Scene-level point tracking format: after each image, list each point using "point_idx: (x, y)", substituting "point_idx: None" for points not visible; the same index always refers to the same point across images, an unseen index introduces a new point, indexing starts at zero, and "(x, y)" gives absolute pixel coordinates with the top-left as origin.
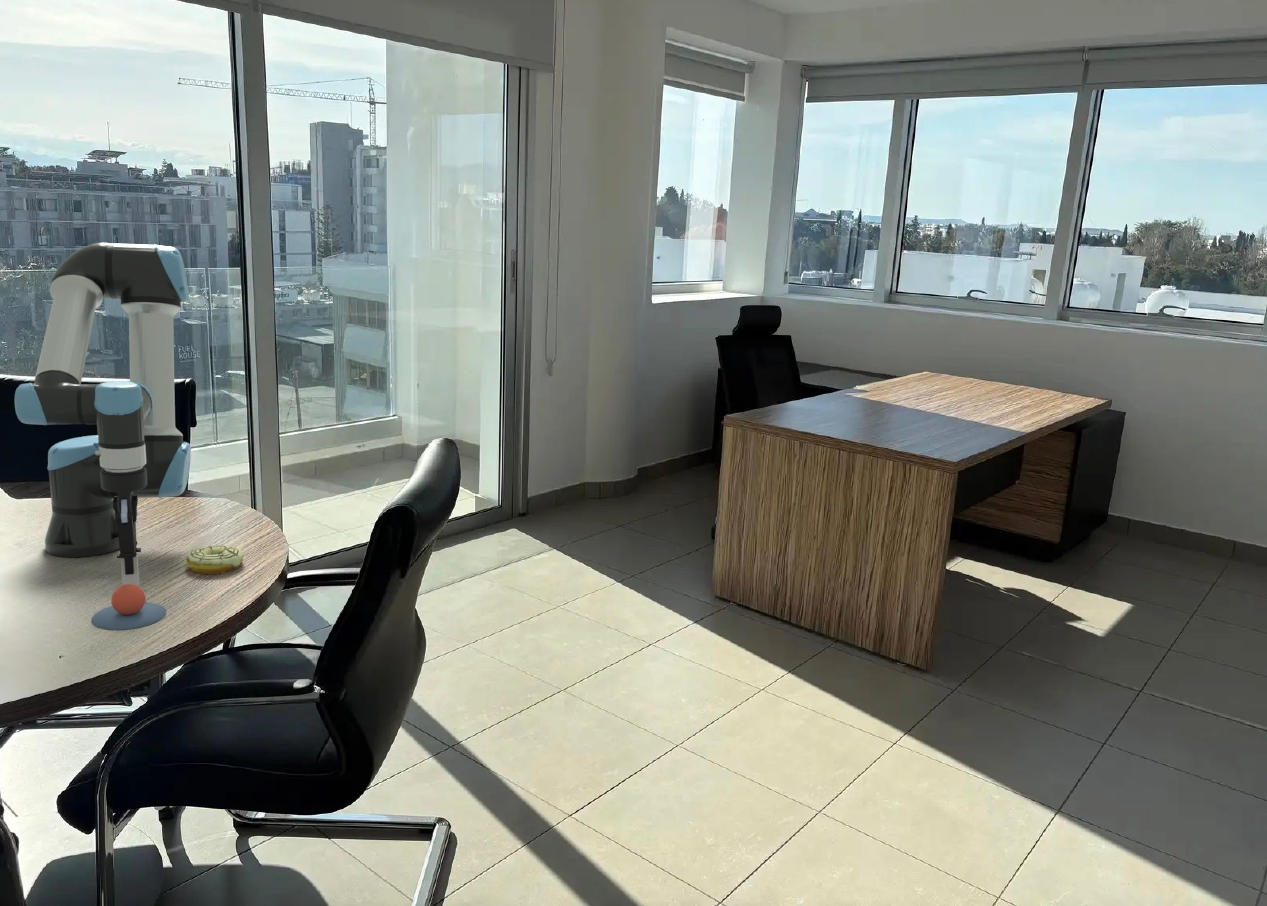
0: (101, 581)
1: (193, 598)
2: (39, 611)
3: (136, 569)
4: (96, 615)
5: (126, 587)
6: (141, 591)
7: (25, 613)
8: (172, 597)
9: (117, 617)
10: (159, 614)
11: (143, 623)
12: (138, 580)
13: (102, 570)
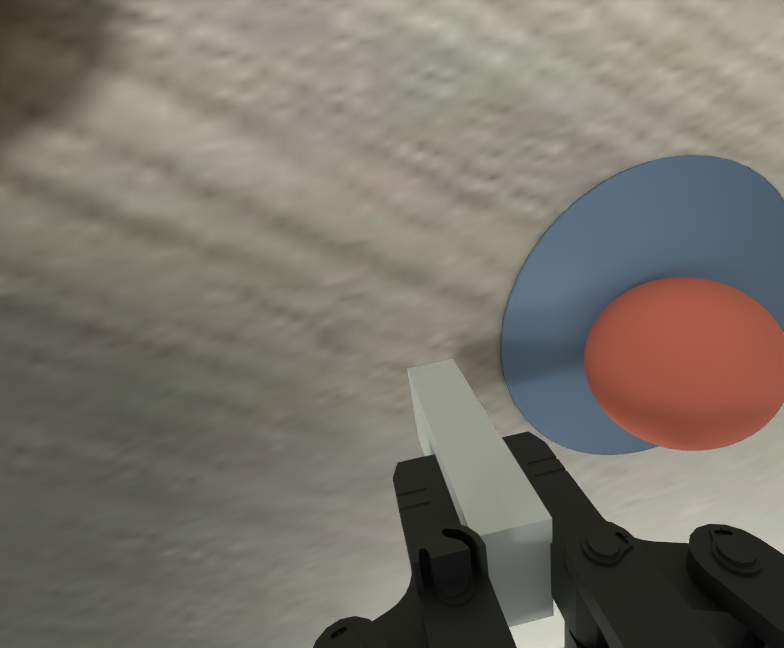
0: (198, 545)
1: (491, 19)
2: None
3: (499, 438)
4: (614, 444)
5: (775, 405)
6: (746, 313)
7: (517, 636)
8: (452, 164)
9: None
10: (697, 186)
11: (774, 240)
12: (465, 384)
13: (40, 587)
